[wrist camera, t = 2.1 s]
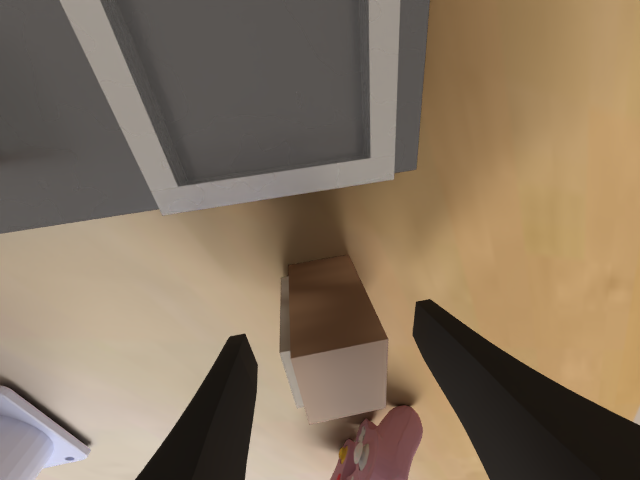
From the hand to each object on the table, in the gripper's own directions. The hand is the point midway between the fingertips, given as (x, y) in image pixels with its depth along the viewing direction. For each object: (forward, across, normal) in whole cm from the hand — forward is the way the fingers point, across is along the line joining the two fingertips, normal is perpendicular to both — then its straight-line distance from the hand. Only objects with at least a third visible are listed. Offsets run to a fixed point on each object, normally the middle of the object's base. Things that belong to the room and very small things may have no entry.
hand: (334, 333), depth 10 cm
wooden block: (+3, 0, 0) cm, 3 cm away
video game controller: (+3, -1, +16) cm, 17 cm away
